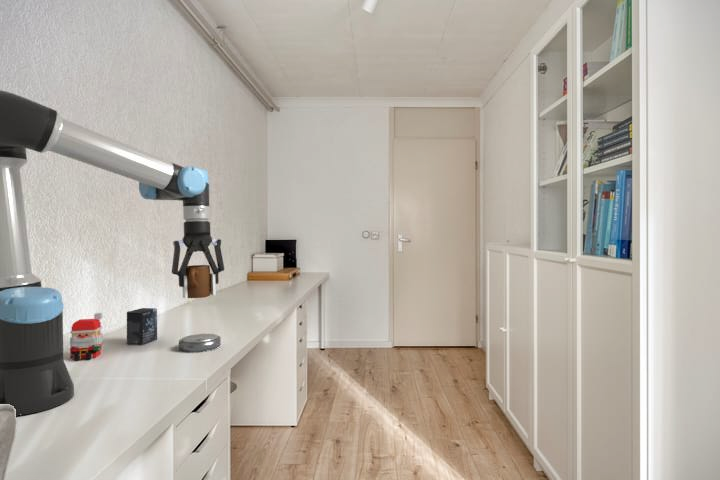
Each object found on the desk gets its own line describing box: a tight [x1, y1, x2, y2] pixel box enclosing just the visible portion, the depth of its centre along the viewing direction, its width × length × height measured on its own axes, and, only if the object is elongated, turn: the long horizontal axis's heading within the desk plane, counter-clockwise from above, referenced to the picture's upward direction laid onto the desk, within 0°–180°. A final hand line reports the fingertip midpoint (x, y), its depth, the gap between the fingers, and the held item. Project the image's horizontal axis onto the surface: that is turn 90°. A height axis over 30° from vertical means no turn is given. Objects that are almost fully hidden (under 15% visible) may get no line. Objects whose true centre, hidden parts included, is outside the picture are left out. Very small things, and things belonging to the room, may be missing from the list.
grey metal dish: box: [178, 333, 221, 353], centre depth 135 cm, size 12×12×3 cm
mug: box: [184, 264, 211, 299], centre depth 133 cm, size 12×8×9 cm, turn 9°
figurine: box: [69, 312, 103, 362], centre depth 125 cm, size 8×7×12 cm
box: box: [126, 307, 158, 346], centre depth 143 cm, size 8×6×11 cm
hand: (199, 296), depth 133 cm, fingers closed on mug, 7 cm apart
